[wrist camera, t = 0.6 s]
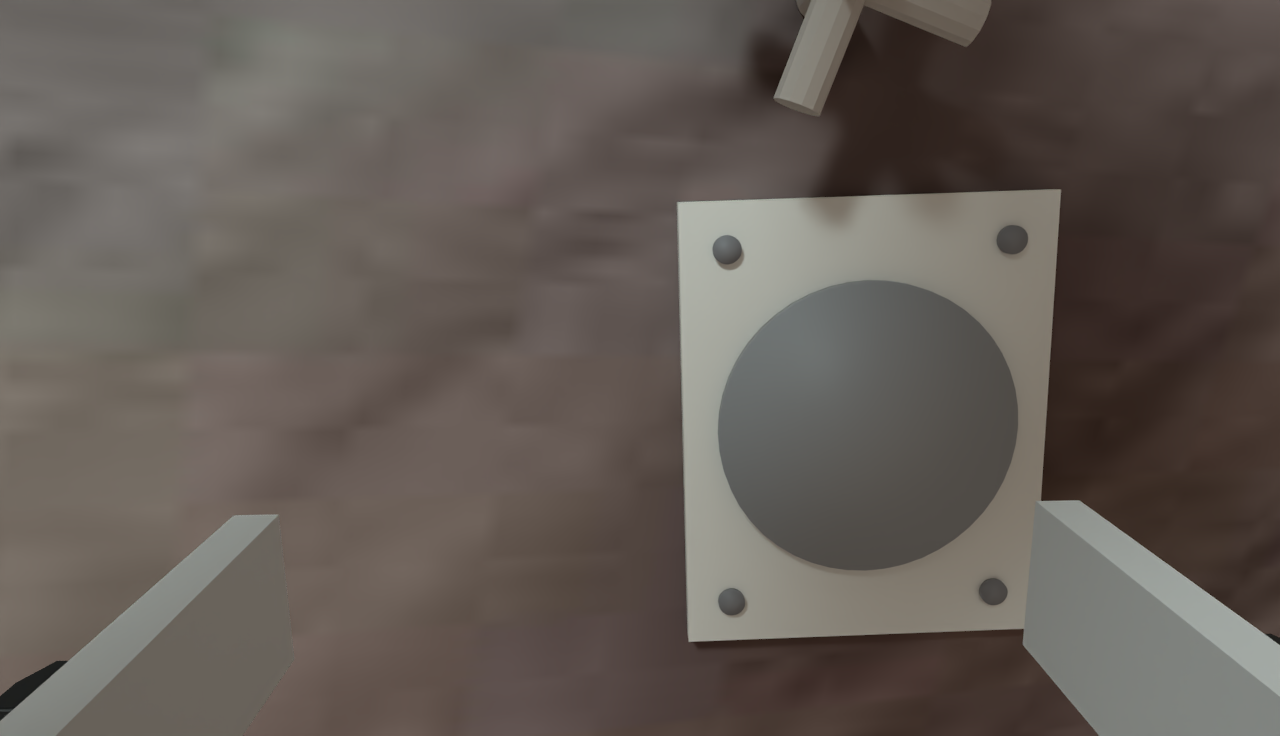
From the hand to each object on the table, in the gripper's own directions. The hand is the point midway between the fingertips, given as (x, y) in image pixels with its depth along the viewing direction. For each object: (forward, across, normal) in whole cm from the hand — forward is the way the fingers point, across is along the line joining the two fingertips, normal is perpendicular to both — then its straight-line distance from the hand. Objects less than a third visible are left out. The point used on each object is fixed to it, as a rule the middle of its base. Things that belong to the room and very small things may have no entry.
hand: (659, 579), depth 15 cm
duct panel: (+24, +10, -4) cm, 26 cm away
